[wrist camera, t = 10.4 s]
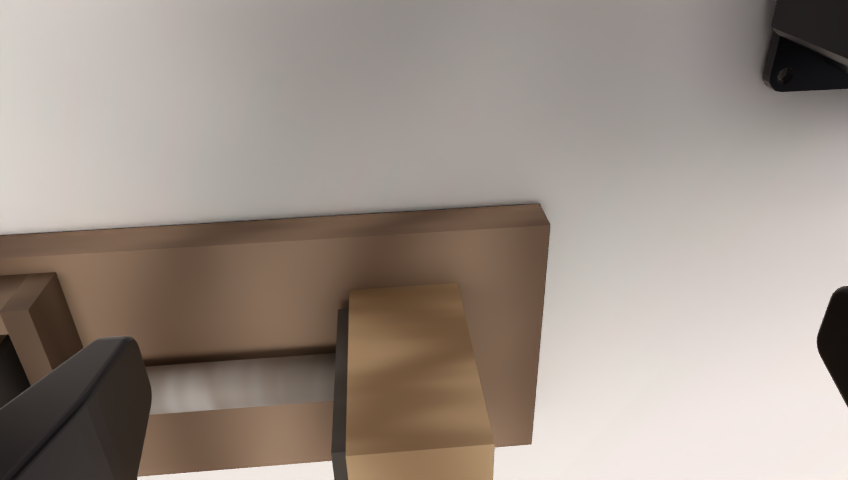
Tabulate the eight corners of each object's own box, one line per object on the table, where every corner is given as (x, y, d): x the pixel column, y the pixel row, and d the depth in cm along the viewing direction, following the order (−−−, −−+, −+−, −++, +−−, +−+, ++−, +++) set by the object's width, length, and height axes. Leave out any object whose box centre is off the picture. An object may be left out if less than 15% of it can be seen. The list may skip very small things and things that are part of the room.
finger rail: (539, 203, 22) (626, 372, 15) (523, 416, 28) (582, 619, 20) (-203, 247, 21) (-505, 458, 14) (-76, 463, 26) (-246, 702, 19)
